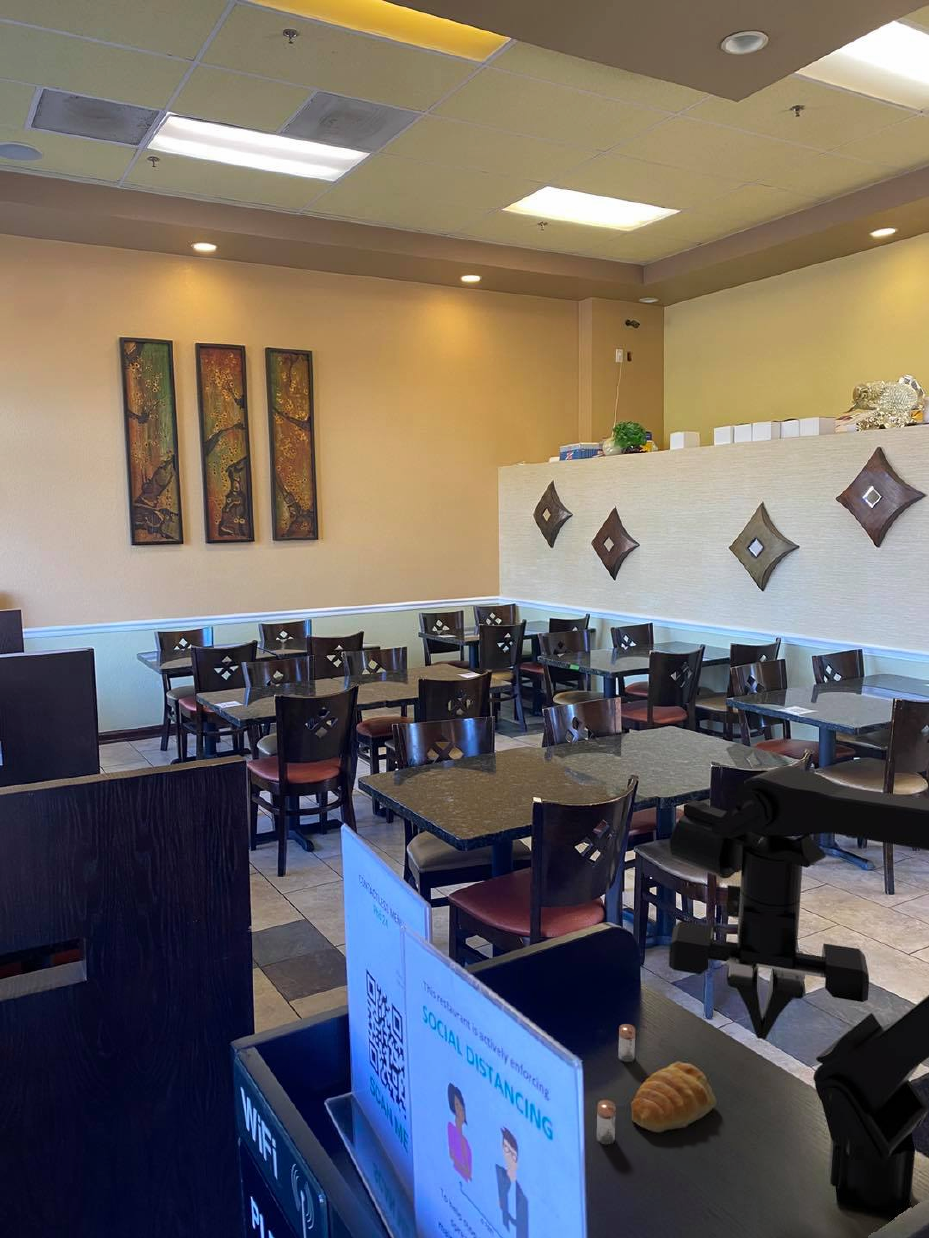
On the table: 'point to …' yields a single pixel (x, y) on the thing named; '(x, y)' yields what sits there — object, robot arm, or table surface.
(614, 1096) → the table surface
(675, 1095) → the pastry
